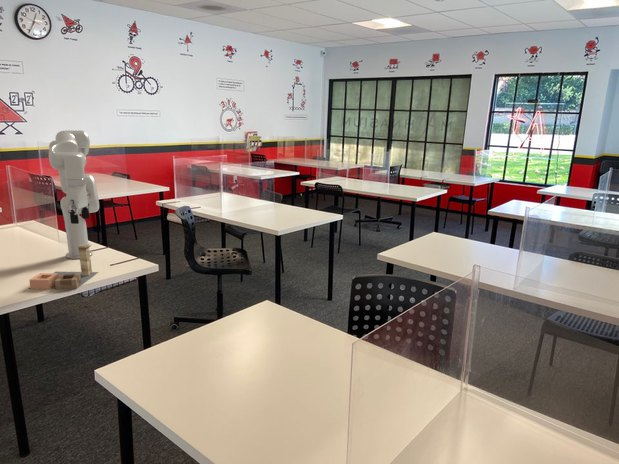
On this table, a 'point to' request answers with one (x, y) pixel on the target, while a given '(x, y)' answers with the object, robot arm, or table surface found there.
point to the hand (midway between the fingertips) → (80, 220)
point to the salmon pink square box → (43, 281)
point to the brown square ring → (68, 281)
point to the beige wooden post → (85, 259)
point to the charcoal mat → (83, 278)
